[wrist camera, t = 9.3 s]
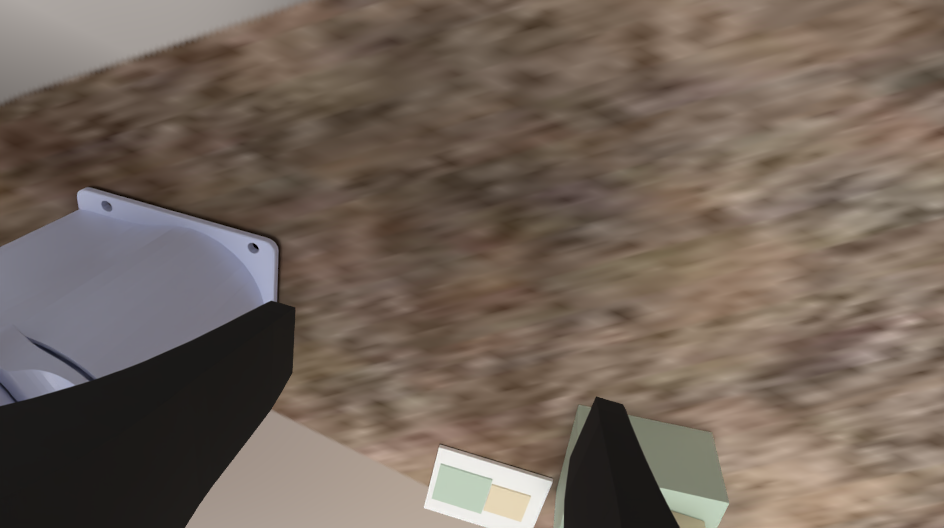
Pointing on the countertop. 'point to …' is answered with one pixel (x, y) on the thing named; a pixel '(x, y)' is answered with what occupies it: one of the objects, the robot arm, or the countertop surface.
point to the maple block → (688, 521)
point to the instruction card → (485, 490)
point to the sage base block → (668, 468)
